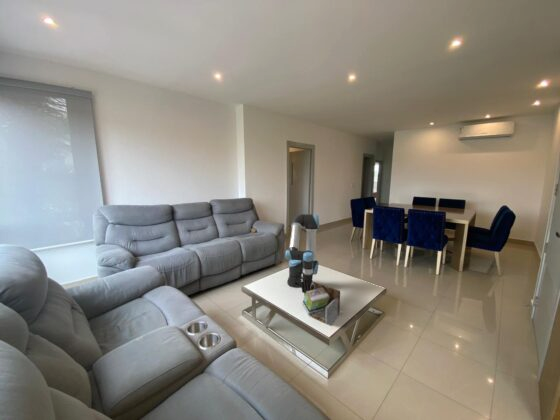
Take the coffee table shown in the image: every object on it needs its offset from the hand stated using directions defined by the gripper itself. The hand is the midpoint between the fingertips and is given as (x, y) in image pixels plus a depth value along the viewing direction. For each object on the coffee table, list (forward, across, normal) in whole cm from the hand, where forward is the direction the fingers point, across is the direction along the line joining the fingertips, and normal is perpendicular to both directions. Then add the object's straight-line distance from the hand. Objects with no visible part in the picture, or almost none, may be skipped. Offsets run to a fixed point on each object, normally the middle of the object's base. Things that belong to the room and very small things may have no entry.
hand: (306, 301), depth 176 cm
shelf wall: (+4, +9, +1) cm, 10 cm away
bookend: (+4, +22, +1) cm, 23 cm away
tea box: (+3, +6, +1) cm, 6 cm away
